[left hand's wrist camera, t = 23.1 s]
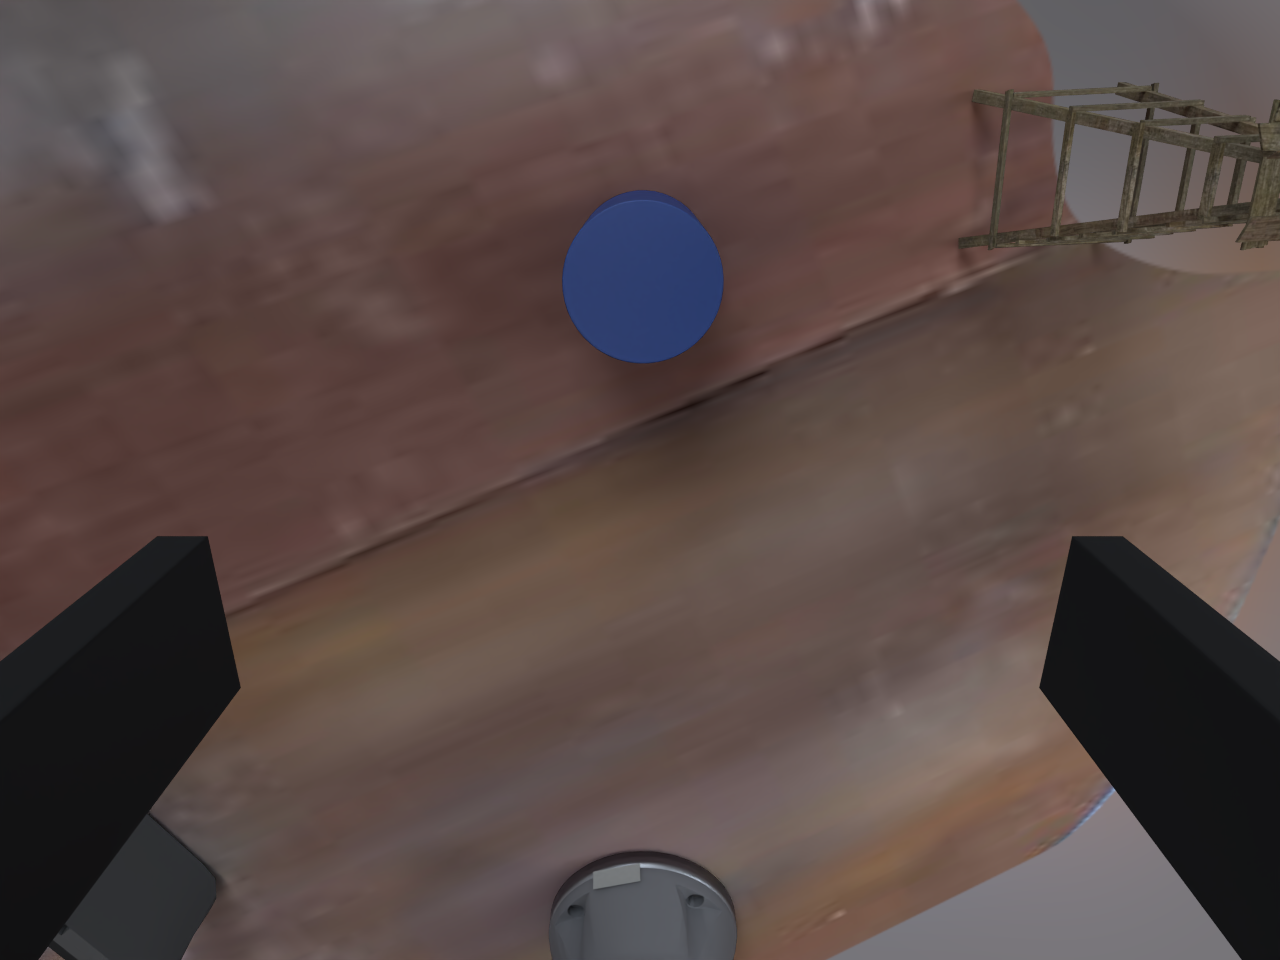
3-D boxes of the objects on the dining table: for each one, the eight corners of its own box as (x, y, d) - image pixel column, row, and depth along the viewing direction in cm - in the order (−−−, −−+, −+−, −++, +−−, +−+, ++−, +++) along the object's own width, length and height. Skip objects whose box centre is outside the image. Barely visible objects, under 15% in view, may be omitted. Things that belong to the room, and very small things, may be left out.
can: (610, 165, 46) (603, 169, 38) (733, 228, 47) (752, 245, 39) (553, 293, 49) (536, 322, 41) (672, 350, 50) (678, 389, 42)
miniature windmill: (1133, 81, 44) (1974, -27, 16) (1106, 243, 47) (1771, 384, 19) (963, 90, 44) (1508, -3, 16) (948, 251, 47) (1383, 401, 20)
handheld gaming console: (-21, 701, 60) (-142, 804, 50) (5, 684, 59) (-113, 785, 50) (202, 896, 67) (132, 1017, 58) (227, 883, 66) (160, 1002, 57)
